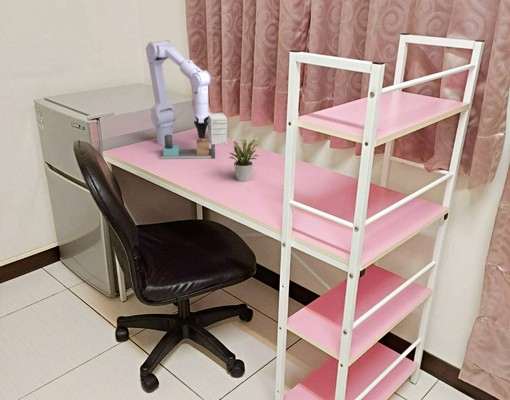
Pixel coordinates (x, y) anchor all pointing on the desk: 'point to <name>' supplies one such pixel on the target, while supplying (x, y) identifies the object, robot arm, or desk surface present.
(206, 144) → the wooden block with knob
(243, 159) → the house plant
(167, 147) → the ram
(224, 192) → the desk surface
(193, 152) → the tray
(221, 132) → the supplement box
